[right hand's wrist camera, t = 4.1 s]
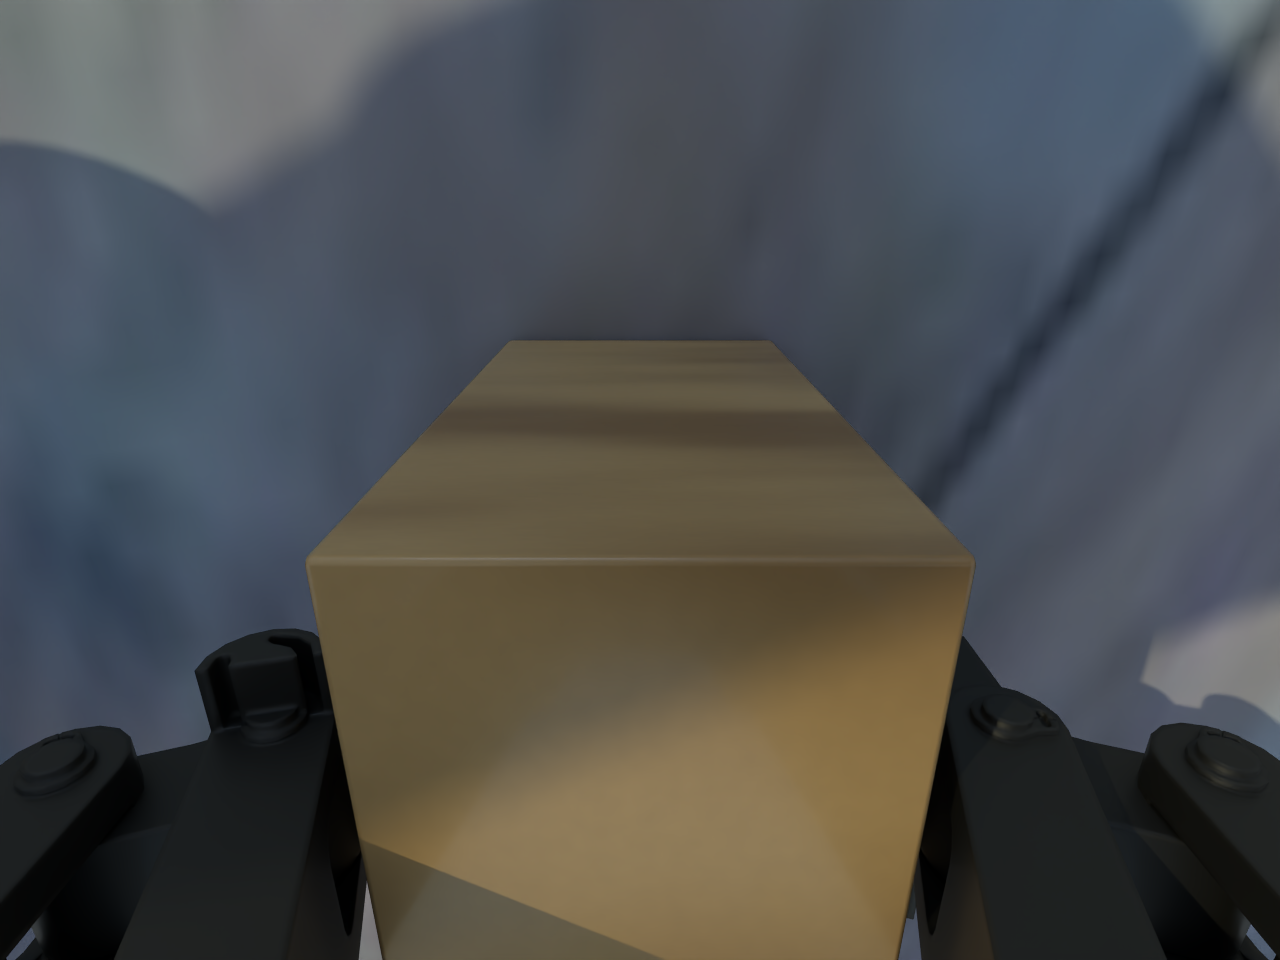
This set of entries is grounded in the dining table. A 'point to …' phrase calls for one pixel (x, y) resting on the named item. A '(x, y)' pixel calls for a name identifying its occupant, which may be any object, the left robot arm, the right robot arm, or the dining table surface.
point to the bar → (640, 665)
